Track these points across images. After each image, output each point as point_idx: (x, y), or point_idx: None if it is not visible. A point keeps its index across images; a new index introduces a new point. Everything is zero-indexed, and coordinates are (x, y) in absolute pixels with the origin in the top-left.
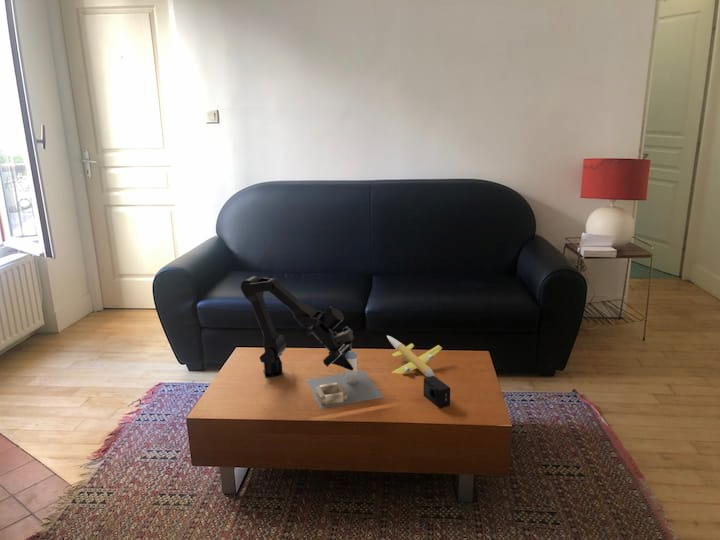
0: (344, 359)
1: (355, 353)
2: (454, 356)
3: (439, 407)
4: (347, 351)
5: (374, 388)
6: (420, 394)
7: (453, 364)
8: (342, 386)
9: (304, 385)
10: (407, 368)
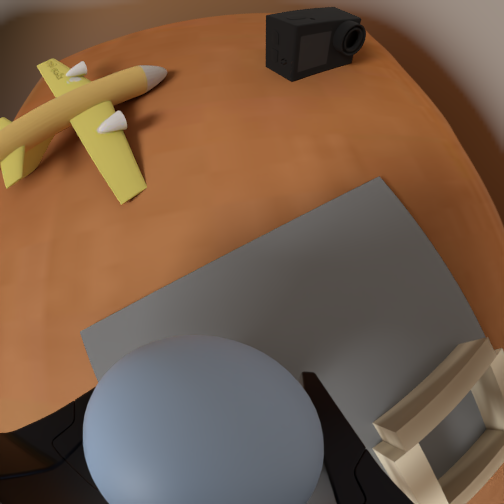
0: (404, 496)
1: (169, 355)
2: None
3: (351, 60)
4: (63, 496)
5: (308, 230)
6: (285, 87)
7: (88, 73)
8: (441, 395)
9: None
10: (119, 114)
